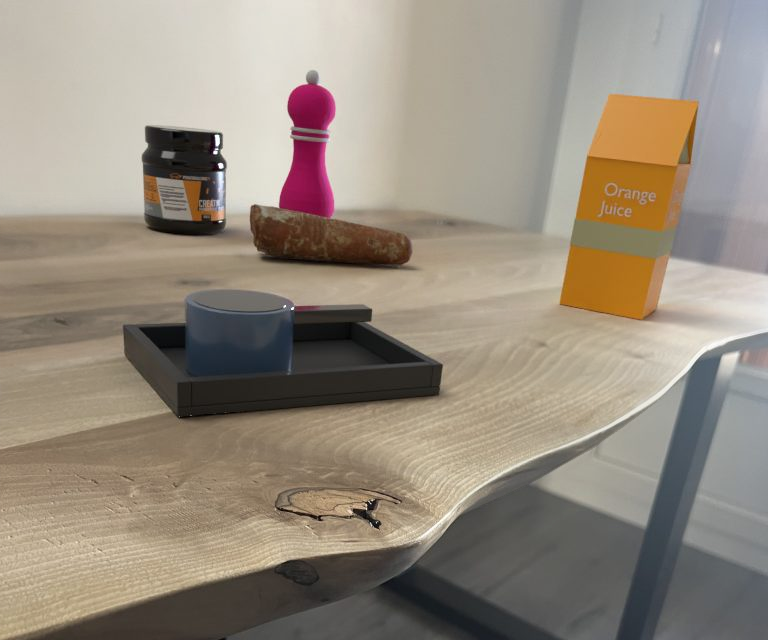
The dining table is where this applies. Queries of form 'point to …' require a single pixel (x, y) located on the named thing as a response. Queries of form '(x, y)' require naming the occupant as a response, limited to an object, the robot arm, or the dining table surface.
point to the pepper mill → (309, 149)
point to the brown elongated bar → (325, 238)
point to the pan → (250, 330)
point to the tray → (286, 388)
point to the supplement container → (184, 180)
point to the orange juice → (629, 205)
